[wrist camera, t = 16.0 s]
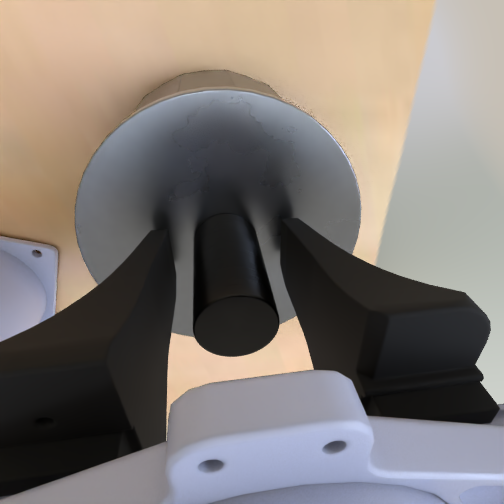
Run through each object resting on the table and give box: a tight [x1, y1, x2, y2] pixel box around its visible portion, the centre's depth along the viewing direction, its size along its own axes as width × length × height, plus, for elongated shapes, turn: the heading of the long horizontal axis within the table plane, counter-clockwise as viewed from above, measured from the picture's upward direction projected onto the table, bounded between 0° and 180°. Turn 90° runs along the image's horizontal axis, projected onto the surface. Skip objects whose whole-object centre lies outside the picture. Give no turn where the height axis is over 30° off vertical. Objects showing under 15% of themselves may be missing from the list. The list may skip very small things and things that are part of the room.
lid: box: [75, 86, 361, 357], centre depth 12 cm, size 11×11×6 cm
